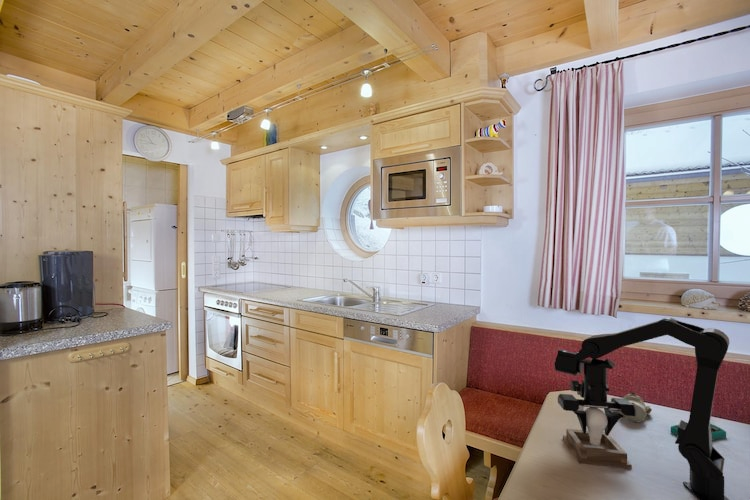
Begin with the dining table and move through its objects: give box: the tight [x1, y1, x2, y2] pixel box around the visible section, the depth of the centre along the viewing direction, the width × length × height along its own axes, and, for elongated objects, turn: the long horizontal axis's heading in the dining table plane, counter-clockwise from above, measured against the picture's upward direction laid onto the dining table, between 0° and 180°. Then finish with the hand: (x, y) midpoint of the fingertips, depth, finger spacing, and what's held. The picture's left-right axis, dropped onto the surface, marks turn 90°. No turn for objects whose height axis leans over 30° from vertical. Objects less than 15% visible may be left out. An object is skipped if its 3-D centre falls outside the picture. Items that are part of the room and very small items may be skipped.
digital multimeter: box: [670, 423, 727, 441], centre depth 112 cm, size 7×15×3 cm, turn 107°
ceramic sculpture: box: [621, 392, 653, 423], centre depth 125 cm, size 11×9×15 cm
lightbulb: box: [584, 407, 608, 447], centre depth 102 cm, size 6×6×11 cm
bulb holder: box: [562, 428, 633, 470], centre depth 102 cm, size 13×13×4 cm
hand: (595, 434), depth 102 cm, fingers closed on lightbulb, 5 cm apart
